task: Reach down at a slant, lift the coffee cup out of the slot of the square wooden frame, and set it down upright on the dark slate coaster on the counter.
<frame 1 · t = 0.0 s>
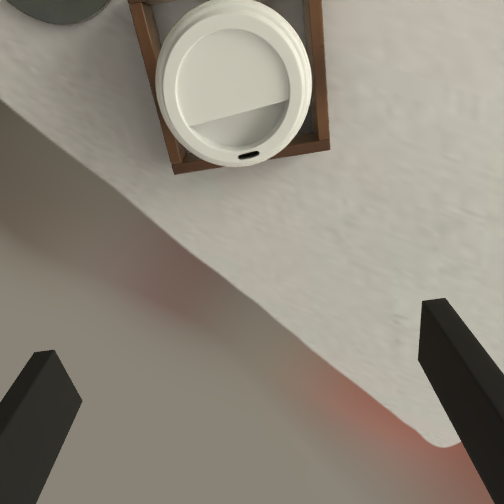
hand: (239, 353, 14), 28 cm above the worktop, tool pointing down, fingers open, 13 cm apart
coffee cup: (238, 73, 35), resting in square wooden frame
square wooden frame: (238, 73, 35), on the worktop
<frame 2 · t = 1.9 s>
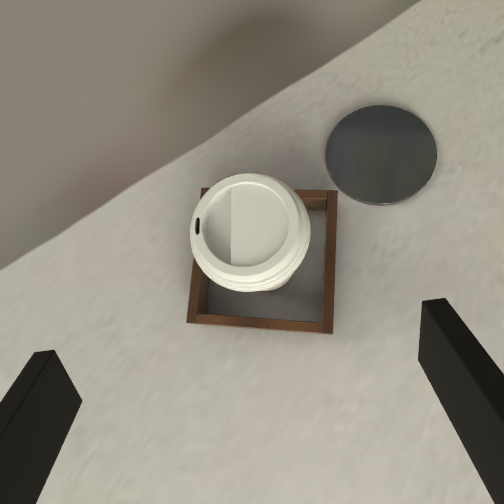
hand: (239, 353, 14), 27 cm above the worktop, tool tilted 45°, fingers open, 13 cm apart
coffee cup: (266, 262, 43), resting in square wooden frame
slate coaster: (379, 155, 43), on the worktop
square wooden frame: (266, 262, 43), on the worktop
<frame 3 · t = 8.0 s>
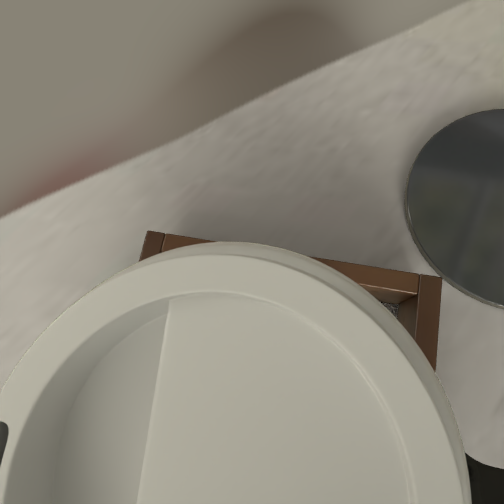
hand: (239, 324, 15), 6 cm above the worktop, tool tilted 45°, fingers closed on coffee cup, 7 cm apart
coffee cup: (264, 400, 20), resting in square wooden frame, touching gripper
square wooden frame: (264, 400, 20), on the worktop
when the fingers open (7 cm above the worktop, at t = 17.7 s): coffee cup stays where it is, resting on slate coaster.
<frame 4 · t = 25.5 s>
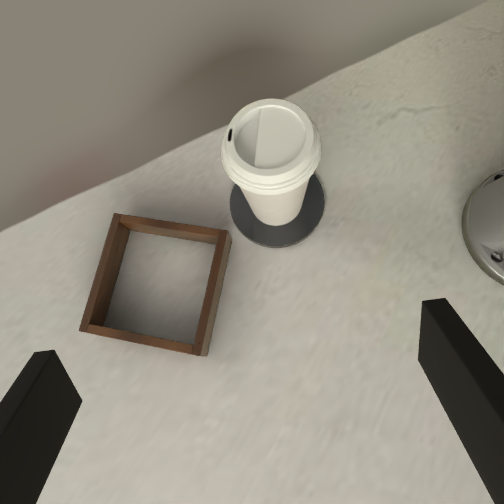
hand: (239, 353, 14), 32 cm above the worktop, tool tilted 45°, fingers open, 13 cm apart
coffee cup: (276, 202, 49), resting on slate coaster
slate coaster: (276, 203, 49), on the worktop
square wooden frame: (163, 285, 48), on the worktop
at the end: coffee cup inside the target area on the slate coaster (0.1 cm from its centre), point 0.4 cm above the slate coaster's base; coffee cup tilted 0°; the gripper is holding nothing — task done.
